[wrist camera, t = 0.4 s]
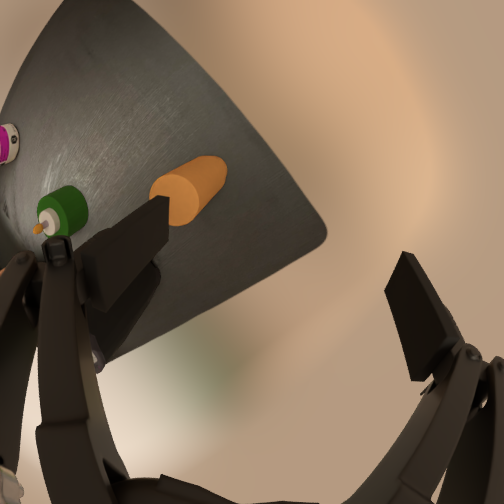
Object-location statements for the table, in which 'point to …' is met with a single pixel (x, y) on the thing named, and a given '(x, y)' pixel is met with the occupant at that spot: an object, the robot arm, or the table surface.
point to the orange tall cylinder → (190, 187)
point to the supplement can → (8, 143)
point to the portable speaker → (120, 316)
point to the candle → (61, 212)
